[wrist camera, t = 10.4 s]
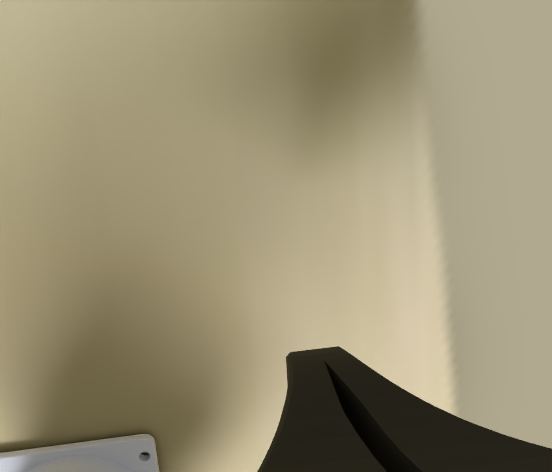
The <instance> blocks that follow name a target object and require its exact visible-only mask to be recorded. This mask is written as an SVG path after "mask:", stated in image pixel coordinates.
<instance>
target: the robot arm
mask: <svg viewBox="0 0 552 472" xmlns="http://www.w3.org/2000/svg"><path fill="white" fill-rule="evenodd" d="M286 364H287V381H288V389H287V396H286V400H285V404H284V408H283V412H282V415H281V419H280V422H279V425H278V428H277V431H276V433H275V436H274V438H273V441H272V443H271V446H270V448H269V450H268V452H267V454H266V456H265V458H264V460H263V462H262V464H261V466H260V468H259V470H258V471H257V472H552V449H551V448H546V447H543V446H540V445H536V444H532V443H528V442H525V441H522V440H518V439H515V438H512V437H509V436H506V435H503V434H500V433H498V432H495V431H492V430H489V429H487V428H484V427H481V426H478V425H476V424H473V423H471V422H468V421H466V420H463V419H461V418H459V417H457V416H454V415H452V414H450V413H448V412H446V411H444V410H441V409H439V408H437V407H435V406H433V405H431V404H429V403H427V402H425V401H423V400H421V399H420V398H418V397H416V396H414V395H413V394H411V393H409V392H407V391H406V390H404V389H402V388H400V387H399V386H397V385H396V384H394V383H392V382H391V381H389V380H388V379H386V378H384V377H383V376H381V375H380V374H378V373H377V372H375V371H374V370H372V369H371V368H370V367H368V366H367V365H365V364H364V363H362V362H361V361H360V360H358V359H357V358H355V357H354V356H352V355H351V354H350V353H348V352H347V351H345V350H344V349H342V348H341V347H330V348H322V349H313V350H305V351H297V352H290V353H289V354H288V356H287V357H286ZM142 452H148V453H149V455H147V456H145V455H142V454H141V453H142ZM0 472H159V465H158V459H157V452H156V445H155V440H154V438H153V437H152V436H151V435H149V434H138V435H131V436H123V437H116V438H108V439H101V440H93V441H86V442H79V443H71V444H64V445H56V446H49V447H41V448H34V449H26V450H19V451H11V452H4V453H0Z"/></svg>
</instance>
